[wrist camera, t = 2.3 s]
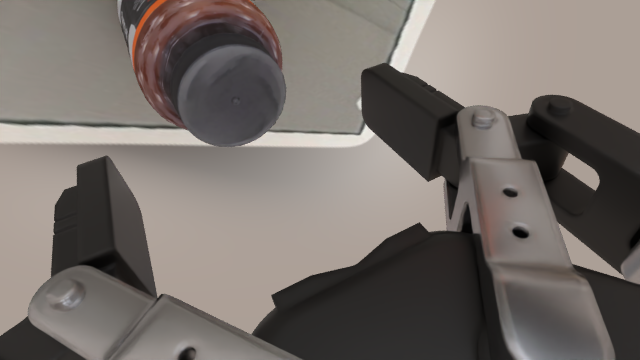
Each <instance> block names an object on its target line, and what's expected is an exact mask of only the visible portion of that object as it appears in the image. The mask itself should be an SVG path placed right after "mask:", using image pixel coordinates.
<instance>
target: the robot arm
mask: <svg viewBox="0 0 640 360" xmlns="http://www.w3.org/2000/svg"><path fill="white" fill-rule="evenodd" d="M361 97H362V115H363V119H364V121H365V123H366V125H367V126H368V127H369V128H370V129H371V130H372V131H373V132H374V133H375V134H376V135H377V136H379V137H380V138H381V139H382V140H383V141H384V142H385V143H386V144H387V145H389V146H390V147H391V148H392V149H393V150H394V151H395V152H396V153H397V154H398V155H399V156H400V157H402V158H403V159H404V160H405V161H406V162H407V163H408V164H409V165H410V166H411V167H413V168H414V169H415V170H416V171H417V172H418V173H419V174H420V175H421V176H422V177H423V178H425V179H426V180H427V181H428V182H429V181H431V180H433V179H435V178H437V177H439V176H443V177H444V178H445V181H444V199H445V211H446V225H447V231H434V232H428V231H427V230H426V229H425V228H424V227H423V226H422V225H421V224H420V223H417V224H415V225H413V226H411V227H409V228H407V229H405V230H403V231H401V232H399V233H397V234H395V235H393V236H391V237H389V238H387V239H385V240H384V241H383V242H382V243H381V244H380V245H379V246H377V247H376V248H375V249H374V250H373V251H372V252H371V253H369V254H368V255H367V256H366V257H365V258H364V259H362V260H361V261H360V262H359V263H358V264H356V265H354V266H350V267H346V268H342V269H338V270H334V271H330V272H325V273H320V274H316V275H312V276H309V277H307V278H305V279H303V280H301V281H299V282H297V283H295V284H293V285H291V286H289V287H287V288H285V289H283V290H281V291H279V292H277V293H275V294H273V295H272V299H273V302H274V304H275V307H276V308H274V309H273V311H271V312H270V313H269V314H268V315H267V316H266V317H265V318H264V319H263V320H262V321H261V322H260V323H259V325H258V326H257V327H256V329H255V330H254V331H253V333H252V335H251V334H249V333H247V332H244V331H243V330H241V329H239V328H236V327H234V326H232V325H230V324H228V323H226V322H224V321H222V320H220V319H218V318H216V317H214V316H212V315H210V314H208V313H205V312H203V311H201V310H199V309H197V308H195V307H193V306H191V305H189V304H187V303H185V302H183V301H181V300H179V299H177V298H174V297H172V296H170V295H167V294H161V295H160V296H159V298H157V293H156V288H155V282H154V277H153V272H152V267H151V261H150V257H149V251H148V246H147V240H146V235H145V230H144V224H143V219H142V214H141V211H140V208H139V206H138V203H137V201H136V199H135V197H134V195H133V193H132V192H131V190H130V189H129V187H128V185H127V184H126V182H125V181H124V179H123V177H122V176H121V174H120V173H119V171H118V170H117V168H116V167H115V165H114V163H113V162H112V160H111V159H110V158H109V157H108V156H104V157H101V158H98V159H95V160H92V161H89V162H86V163H83V164H80V165H78V166H77V186H74V187H71V188H68V189H65V190H64V191H63V193H62V195H61V196H60V198H59V200H58V201H57V203H56V205H55V214H54V221H55V223H54V234H55V235H53V251H52V268H51V278H50V279H49V280H47V281H46V282H45V283H44V284H43V285H42V286H41V287H40V288H39V289H38V291H37V292H36V293H35V295H34V296H33V298H32V300H31V302H30V304H29V308H28V316H27V317H26V318H25V319H24V320H23V321H21V322H20V323H19V324H17V325H16V326H14V327H13V328H11V329H10V330H8V331H7V332H6V333H4V334H3V335H1V336H0V360H640V133H637V132H636V131H634V130H632V129H630V128H628V127H626V126H624V125H622V124H620V123H619V122H617V121H615V120H613V119H611V118H609V117H607V116H605V115H603V114H601V113H599V112H598V111H596V110H594V109H592V108H590V107H588V106H586V105H584V104H583V103H581V102H579V101H577V100H574V99H572V98H569V97H565V96H560V95H545V96H540V97H538V98H536V99H535V100H534V101H533V102H532V105H531V108H530V111H529V113H528V114H521V115H514V116H507V115H506V114H505V113H504V112H502V111H500V110H498V109H496V108H493V107H489V106H481V105H480V106H479V105H478V106H470V107H466V108H465V107H464V106H462V105H460V104H459V103H457V102H456V101H454V100H453V99H451V98H449V97H448V96H446V95H445V94H443V93H441V92H440V91H436V89H435V88H434V87H432V86H430V85H428V84H427V83H426V82H424V81H423V80H421V79H419V78H418V77H415V76H412V75H409V74H406V73H401V72H399V71H398V70H396V69H394V68H393V67H391V66H390V65H388V64H387V63H382V64H379V65H376V66H373V67H370V68H367V69H365V70H363V72H362V75H361ZM568 153H570V154H572V155H573V156H575V157H576V158H578V159H580V160H581V161H583V162H584V163H586V164H587V165H589V166H590V167H592V168H593V169H595V171H596V172H597V173H598V175H599V179H600V183H599V186H598V188H597V190H596V191H595V190H593V189H592V188H590V187H589V186H587V185H586V184H585V183H583V182H582V181H580V180H578V179H577V178H576V177H574V176H573V175H572V174H570V173H569V172H567V171H566V170H564V169H563V168H562V166H563V164H564V161H565V159H566V157H567V155H568ZM557 222H558V223H559V224H561V225H562V226H563V227H564V228H566V229H567V230H568V231H569V232H570V233H572V234H573V235H574V236H575V237H577V238H578V239H579V240H580V241H581V242H583V243H584V244H585V245H586V246H588V247H589V248H590V249H591V250H592V251H594V252H595V253H596V254H597V255H599V256H600V257H601V258H602V259H603V260H605V261H606V262H607V263H608V264H610V265H611V266H612V267H613V268H615V269H616V270H617V271H618V272H619V273H621V274H622V275H623V276H624V278H625V280H624V279H620V278H617V277H614V276H610V275H607V274H604V273H600V272H597V271H594V270H590V269H587V268H583V267H580V266H577V265H573V264H572V263H571V260H570V257H569V254H568V251H567V248H566V246H565V243H564V240H563V237H562V234H561V231H560V228H559V226H558V223H557Z"/></svg>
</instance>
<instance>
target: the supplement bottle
mask: <svg viewBox="0 0 640 360" xmlns="http://www.w3.org/2000/svg"><path fill="white" fill-rule="evenodd" d="M117 8H118V16H119V20H120V24H121V27H122V31H123V34H124V37H125V41H126V43H127V47H128V52H129V55H130V58H131V61H132V65H133V69H134V72H135V74H136V78H137V81H138V83H139V86H140V88H141V90H142V92H143V94H144V96H145V98H146V99H147V101H148V102H149V103H150V105H151V106H152V107H153V109H155V110H156V111H157V112H158V113H159V114H160V115H161V116H162V117H163V118H165V119H166V120H167V121H169V122H171V123H173V124H175V125H177V126H179V127H181V128H184V129H186V130H189V131H190V132H191V133H192V134H193V135H194V136H195V137H196V138H198V139H200V140H201V141H203V142H206V143H208V144H211V145H214V146H219V147H233V146H241V145H244V144H247V143H250V142H252V141H254V140H256V139H258V138H259V137H261V136H262V135H263V134H265V133H266V132H267V131H268V130H269V129H270V128H271V127H272V126H273V125H274V124H275V123H276V121H277V119H278V118H279V116H280V114H281V112H282V110H283V106H284V103H285V99H286V85H285V80H284V76H283V73H282V52H281V46H280V44H279V40H278V37H277V35H276V33H275V31H274V29H273V27H272V25H271V24H270V22H269V21H268V19H267V18H266V16H265V15H264V14H263V13H262V12H261V11H260V10H259V9H258V8H257V7H256V6H255V5H254V4H253V3H252V2H251V1H249V0H117Z"/></svg>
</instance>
